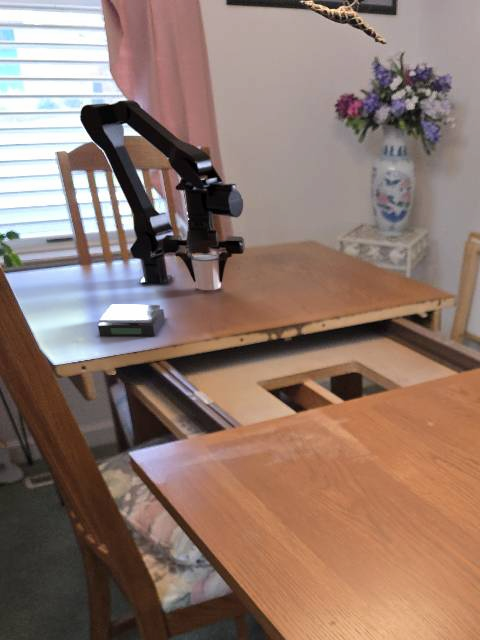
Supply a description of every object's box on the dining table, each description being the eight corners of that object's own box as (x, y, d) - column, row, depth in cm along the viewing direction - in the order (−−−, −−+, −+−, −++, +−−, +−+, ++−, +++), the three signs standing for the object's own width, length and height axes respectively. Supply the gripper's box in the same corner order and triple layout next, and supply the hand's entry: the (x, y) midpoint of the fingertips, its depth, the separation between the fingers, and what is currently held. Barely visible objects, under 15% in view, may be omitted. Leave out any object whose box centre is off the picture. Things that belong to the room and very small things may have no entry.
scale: (113, 318, 154) (110, 306, 152) (164, 319, 155) (163, 307, 153) (99, 336, 144) (96, 324, 143) (154, 336, 145) (152, 324, 144)
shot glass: (226, 283, 176) (223, 254, 172) (218, 291, 170) (214, 261, 166) (199, 282, 176) (196, 252, 172) (190, 289, 171) (186, 259, 166)
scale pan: (112, 307, 152) (111, 304, 151) (160, 307, 153) (159, 305, 152) (100, 322, 144) (99, 319, 143) (150, 322, 145) (150, 320, 144)
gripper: (151, 219, 156) (162, 290, 165) (237, 220, 158) (243, 291, 167) (160, 209, 165) (171, 277, 174) (241, 210, 167) (247, 278, 176)
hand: (208, 281), depth 172 cm, fingers closed on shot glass, 6 cm apart
